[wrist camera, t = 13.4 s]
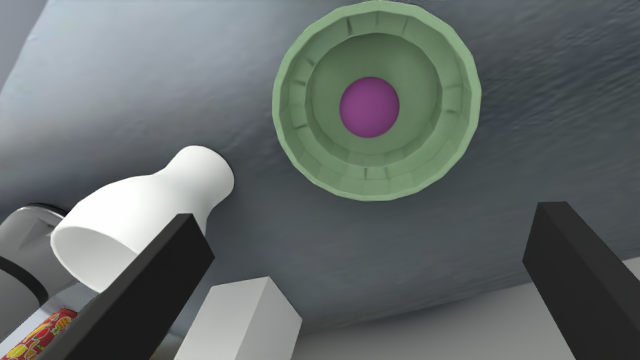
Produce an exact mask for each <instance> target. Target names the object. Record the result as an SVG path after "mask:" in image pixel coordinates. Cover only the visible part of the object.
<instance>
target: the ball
mask: <svg viewBox="0 0 640 360" xmlns="http://www.w3.org/2000/svg"><path fill="white" fill-rule="evenodd" d="M399 110H400V103H399V98H398V95H397V92H396V91H395V89H394V88H393V86H392V85H390V84H389V83H388V82H387V81H385V80H383V79H381V78H378V77H364V78H361V79H358V80H356V81H354V82H353V83H351V84H350V85H349V86H348V87H347V89H346V90H345V91H344V93H343V95H342V97H341V100H340V105H339V112H340V117H341V120H342V122H343V124H344V126H345V127H346V128H347V129H348V130H349V131H350V132H351V133H352V134H354V135H356V136H359V137H362V138H374V137H378V136H381V135H382V134H384V133H386V132H387V131H388V130H390V129H391V127H392V126H393V125H394V123H395V122H396V120H397V118H398V115H399Z"/></svg>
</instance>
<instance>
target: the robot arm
mask: <svg viewBox="0 0 640 360" xmlns="http://www.w3.org/2000/svg"><path fill="white" fill-rule="evenodd" d="M67 215H68V214H67V213H65V212H64V211H61V210H59V209H57V208H54V207H52V206H48V205H45V204H39V203H31V204H27V205H25V206H23V207H21V208H20V209H18V210H16V211H15V212H14V213H12V214H11V215H10V216H9V217H8V218H7V219H6V220H5V221H4V222H3V223H2V224H1V225H0V343H1V342H2V341H3V340H5V339H6V338H7V337H8V336H9V335H10V334H11V333H12V332H13V331H15V330H16V328H18V327H19V326H20V325H21V324H22V323H23V322H24V321H25V320H27V319H28V318H29V317H30V316H31V315H32V314H33V313H34V312H35V311H37V310H38V309H39V308H40V307H41V306H42V305H43V304H44V303H45V302H46V301H48V300H49V299H50V298H51V297H52V296H54V295H56V294H57V293H59V292H61V291H63V290H65V289H67V288H68V287H70V286H72V285H74V284H76V283H78V282H80V281H79V280H78V279H77V278H75V277H74V276H73V275H72V274H71V273H70V272H69V271H68V270H67V269H66V268H65V267H64V266H63V265H62V264H61V263H60V261H59V260H58V258H57V257H56V255H55V254H54V252H53V249H52V246H51V234H52V232H53V231H54V229H55V228H56V227H57V226H58V224H59V223H60V222H61V221H62V220H63V219H64V218H65V217H66V216H67ZM214 259H215V256H214V254H213V252H212V250H211V248H210V247H209V245H208V243H207V241H206V239H205V237H204V235H203V233H202V231H201V229H200V227H199V225H198V223H197V221H196V219H195V217H194V215H193V213H180V214H177V215H176V216H175V217H174V218H173V219H172V220H171V221H170V222H169V223H168V224H167V225H166V226H165V227H164V228H163V230H162V231H161V232H160V233H159V234H158V235H157V236H156V237H155V238H154V239H153V240H152V241H151V242H150V243H149V244H148V245H147V246H146V247H145V249H144V250H143V251H142V252H141V253H140V254H139V255H138V256H137V257H136V258H135V259H134V260H133V261H132V262H131V263H130V264H129V265H128V267H127V268H126V269H125V270H124V271H123V272H122V273H121V274H120V275H119V276H118V277H117V278H116V279H115V280H114V281H113V282H112V283H111V284H110V286H109V287H108V288H107V289H105V290H104V291H103V292H101V293H100V294H99V295H97V296H96V297H95V298H93V299H92V300H91V301H90V302H89V303H88V304H87V305H86V306H85V307H84V308H83V309H82V310H81V311H80V312H79V313H78V314H77V317H76V318H73V319H72V320H71V321H70V322H69V323H68V324H67V325H66V326H65V329H64V330H62V331H61V332H60V333H59V334H58V335H57V336H56V337H55V338H54V339H53V340H52V341H51V342H50V343H49V344H48V345H47V346H46V347H45V348H44V349H43V350H42V351H41V352H40V353H39V355H38V356H37V357H36V358H35V359H34V360H150V359H151V357H152V356H153V354H154V352H155V351H156V349H157V348H158V346H159V345H160V343H161V341H162V340H163V338H164V337H165V335H166V334H167V332H168V330H169V329H170V327H171V326H172V324H173V323H174V321H175V320H176V318H177V316H178V315H179V313H180V312H181V310H182V309H183V307H184V305H185V304H186V302H187V301H188V299H189V298H190V296H191V294H192V293H193V291H194V290H195V288H196V287H197V285H198V284H199V282H200V280H201V279H202V277H203V276H204V274H205V273H206V271H207V269H208V268H209V266H210V265H211V263H212V262H213V260H214ZM522 262H523V264H524V266H525V268H526V269H527V271H528V273H529V275H530V277H531V279H532V280H533V282H534V284H535V286H536V288H537V289H538V291H539V293H540V295H541V297H542V299H543V300H544V302H545V304H546V306H547V308H548V310H549V311H550V313H551V315H552V317H553V319H554V321H555V322H556V324H557V326H558V328H559V330H560V332H561V333H562V335H563V337H564V339H565V341H566V343H567V344H568V346H569V348H570V350H571V352H572V353H573V355H574V357H575V359H576V360H640V281H639V280H638V279H637V278H636V277H635V276H634V274H633V273H632V272H631V271H629V269H628V268H627V267H626V266H625V265H624V264H623V263H622V261H621V260H620V259H619V258H618V257H617V256H616V255H615V254H614V253H613V252H612V251H611V250H610V249H609V247H608V246H607V245H606V244H605V243H604V242H603V241H602V240H601V239H600V238H599V237H598V236H597V235H596V233H595V232H594V231H593V230H592V229H591V228H590V227H589V226H588V225H587V224H586V223H585V222H584V220H583V219H582V218H581V217H580V216H579V215H578V214H577V213H576V212H575V211H574V210H573V209H572V208H571V206H570V205H569V204H568V203H567V202H538V205H537V209H536V212H535V216H534V220H533V223H532V227H531V231H530V235H529V238H528V242H527V246H526V249H525V253H524V257H523V260H522Z"/></svg>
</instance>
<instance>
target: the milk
mask: <svg viewBox="0 0 640 360" xmlns="http://www.w3.org/2000/svg"><path fill="white" fill-rule="evenodd" d="M301 323H302V318H301V317H300V316H299V315H298V313H297V312H296V311H295V309H294V308H293V307H292V305H291V304H290V303H289V301H288V300H287V299H286V298H285V296H284V295H283V294H282V292H281V291H280V290H279V288H278V287H277V286H276V284H275V283H274V282H273V281H272V279H271V278H270V277H269V276H267V277H261V278H256V279H250V280H244V281H239V282H233V283H227V284H221V285H216V286H212V287H211V289H210V291H209V293H208V295H207V297H206V299H205V301H204V303H203V304H202V306H201V308H200V310H199V312H198V314H197V316H196V318H195V320H194V322H193V324H192V326H191V328H190V329H189V331H188V333H187V335H186V337H185V339H184V341H183V343H182V345H181V347H180V349H179V351H178V353H177V355H176V356H175V358H174V360H290V359H291V356H292V352H293V349H294V346H295V343H296V340H297V336H298V333H299V330H300V327H301Z"/></svg>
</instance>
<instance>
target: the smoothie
mask: <svg viewBox="0 0 640 360" xmlns="http://www.w3.org/2000/svg"><path fill="white" fill-rule="evenodd" d="M76 317H77V313H75V312H73V311H71V310H68V309H61V310H60V311H58V312H56V313H53V314H52V315H51V316H50V317H49V318H47V319H46V320H45V321H44V322H43V323H42V324H41V325H40V326H38V327H37V328H36V329H35V330H34V331H33V332H31V333H30V334H29V335H28V336H27V337H26V338H25V339H23V340H22V341H21V342H20V343H19V344H18V345H17V346H15V347H14V348H13V349H12V350H11V351H10V352H8V353H7V354H6V355H5V356H4V357H3V358H1V359H0V360H34V359H35V358H36V357H37V356H38V355H39V353H40V352H41V351H42V350H43V349H44V348H45V347H46V346H47V345H48V344H49V343H50V342H51V341H52V340H53V339H54V338H55V337H56V336H57V335H58V334H59V333H60V332H61V331H62V330H64V329H65V326H66V325H67V324H68V323H69V322H70V321H71V320H72V319H73V318H76Z"/></svg>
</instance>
